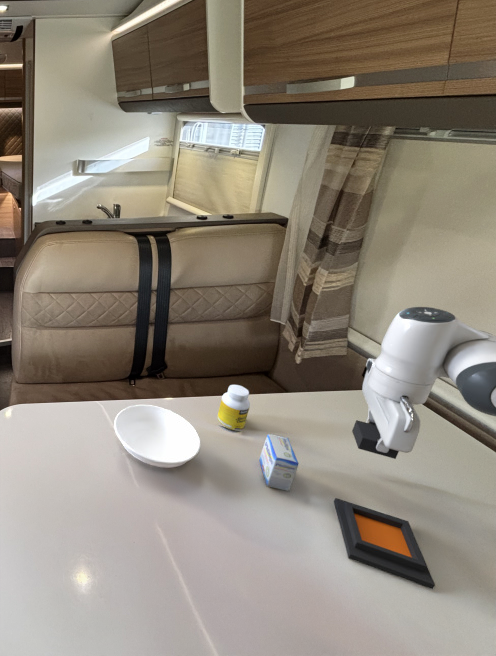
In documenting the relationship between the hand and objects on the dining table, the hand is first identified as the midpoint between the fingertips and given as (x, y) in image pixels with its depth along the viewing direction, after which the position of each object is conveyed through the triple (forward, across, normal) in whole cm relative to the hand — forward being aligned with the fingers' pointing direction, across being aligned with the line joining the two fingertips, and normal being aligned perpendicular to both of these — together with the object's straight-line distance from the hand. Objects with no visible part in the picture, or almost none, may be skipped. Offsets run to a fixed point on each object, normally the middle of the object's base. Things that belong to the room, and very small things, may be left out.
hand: (375, 437), depth 90 cm
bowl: (+15, -9, +41) cm, 45 cm away
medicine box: (+15, -4, +16) cm, 22 cm away
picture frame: (+15, -13, -2) cm, 20 cm away
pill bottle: (+15, +10, +25) cm, 31 cm away
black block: (+2, 0, 0) cm, 2 cm away
